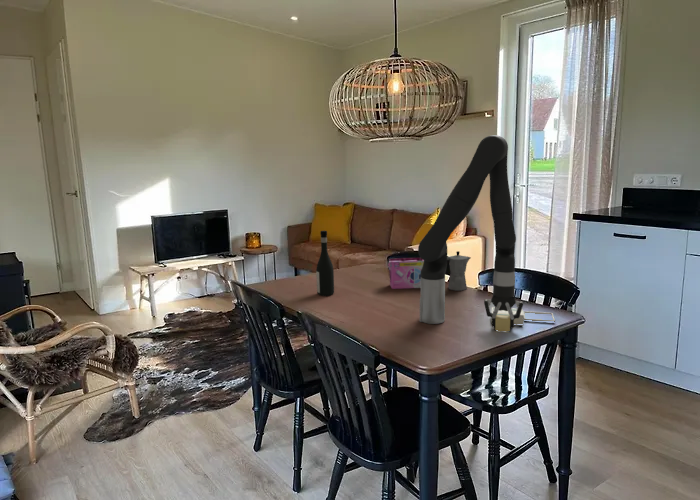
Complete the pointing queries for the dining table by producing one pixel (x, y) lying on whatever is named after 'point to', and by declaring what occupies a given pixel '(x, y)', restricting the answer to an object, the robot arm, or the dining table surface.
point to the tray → (538, 313)
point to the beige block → (502, 322)
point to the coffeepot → (457, 272)
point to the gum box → (405, 272)
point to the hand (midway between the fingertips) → (502, 327)
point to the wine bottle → (324, 270)
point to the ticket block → (517, 320)
